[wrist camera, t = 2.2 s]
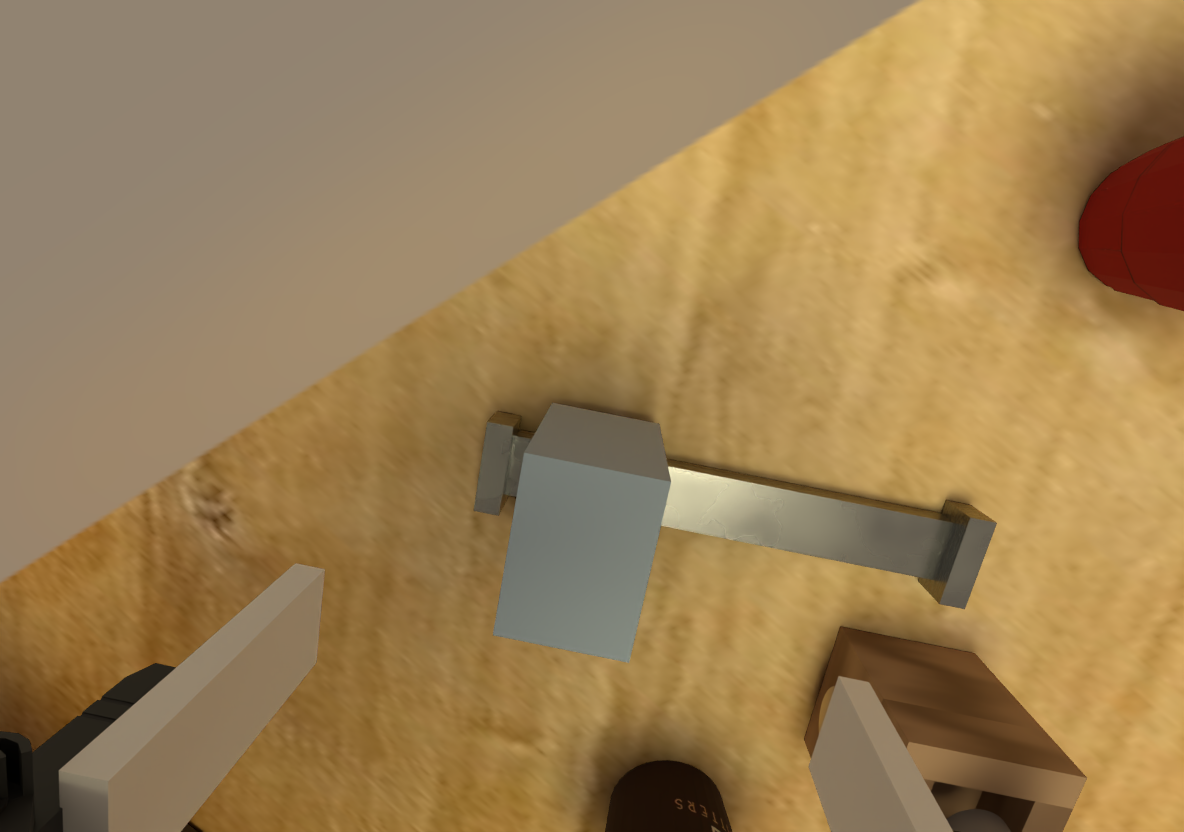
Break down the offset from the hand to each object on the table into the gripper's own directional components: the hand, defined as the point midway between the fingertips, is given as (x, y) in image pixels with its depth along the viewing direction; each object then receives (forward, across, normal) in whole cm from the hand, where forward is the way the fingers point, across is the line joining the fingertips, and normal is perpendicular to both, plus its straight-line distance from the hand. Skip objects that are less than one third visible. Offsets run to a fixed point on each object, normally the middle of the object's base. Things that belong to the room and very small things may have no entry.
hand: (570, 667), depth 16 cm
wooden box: (+16, +17, -9) cm, 25 cm away
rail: (+16, +6, 0) cm, 17 cm away
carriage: (+16, 0, 0) cm, 16 cm away
